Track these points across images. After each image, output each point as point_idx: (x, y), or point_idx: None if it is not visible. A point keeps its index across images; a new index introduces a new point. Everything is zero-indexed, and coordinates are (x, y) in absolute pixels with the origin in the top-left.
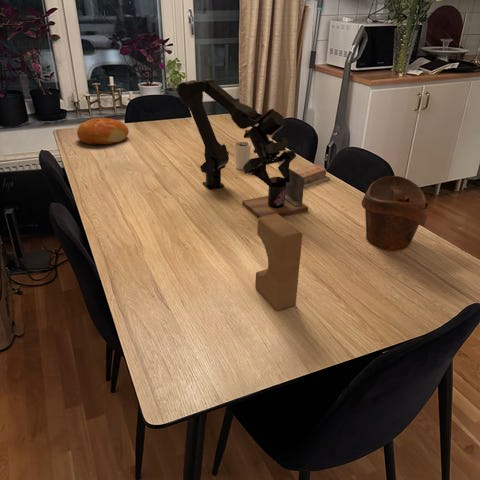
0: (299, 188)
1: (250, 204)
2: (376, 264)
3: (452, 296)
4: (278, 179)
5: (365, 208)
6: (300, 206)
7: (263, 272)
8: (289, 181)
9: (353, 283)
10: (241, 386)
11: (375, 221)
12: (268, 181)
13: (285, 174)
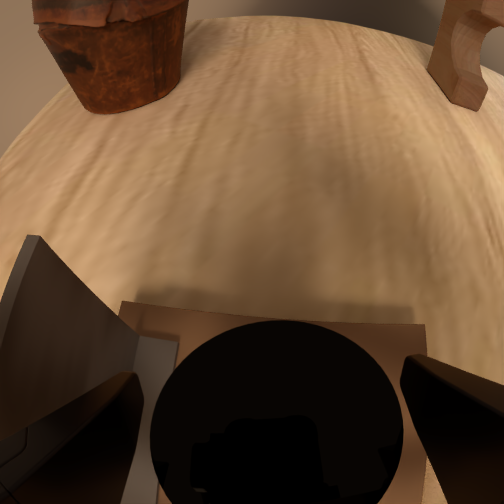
0: (86, 331)
1: (404, 493)
2: (236, 56)
3: (215, 22)
4: (259, 453)
5: (180, 2)
6: (150, 329)
7: (478, 77)
8: (131, 373)
9: (318, 51)
10: (484, 68)
11: (186, 14)
12: (464, 380)
13: (98, 461)
